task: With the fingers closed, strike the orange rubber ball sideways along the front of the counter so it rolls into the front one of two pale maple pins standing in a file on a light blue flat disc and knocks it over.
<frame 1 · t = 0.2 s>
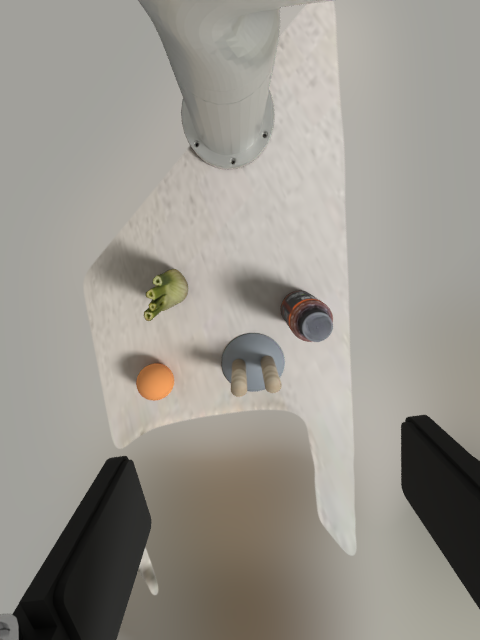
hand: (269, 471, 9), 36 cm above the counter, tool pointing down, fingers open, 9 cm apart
ball: (155, 381, 46), on the counter
supplement bottle: (297, 307, 46), on the counter
fennel bulb: (175, 286, 44), on the counter
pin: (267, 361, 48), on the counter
light blue flat disc: (253, 362, 48), on the counter
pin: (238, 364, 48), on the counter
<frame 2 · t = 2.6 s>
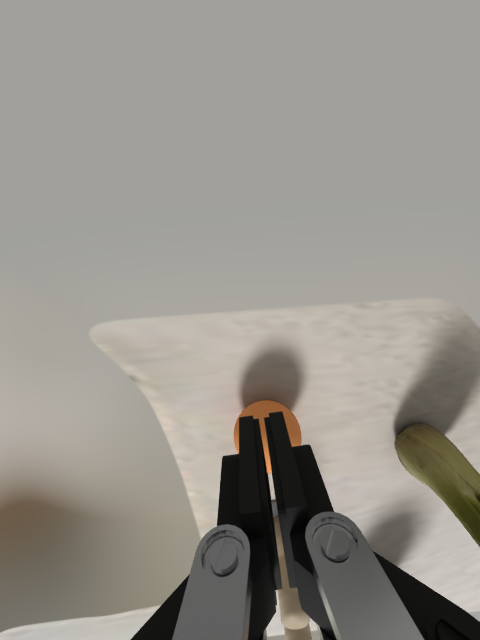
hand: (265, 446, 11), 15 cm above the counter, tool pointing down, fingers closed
ball: (267, 435, 25), on the counter
fennel bulb: (412, 438, 28), on the counter
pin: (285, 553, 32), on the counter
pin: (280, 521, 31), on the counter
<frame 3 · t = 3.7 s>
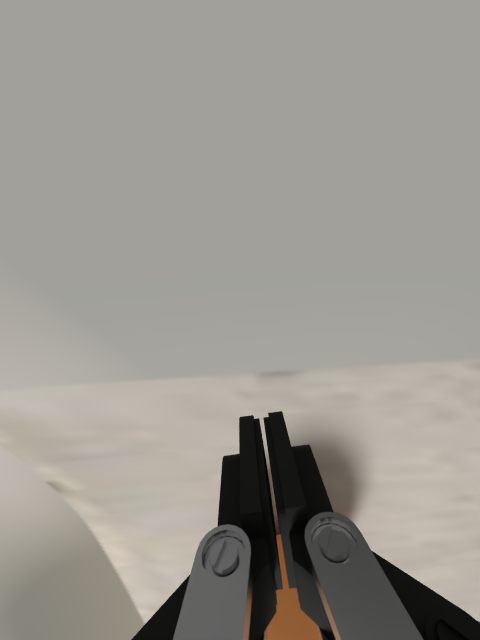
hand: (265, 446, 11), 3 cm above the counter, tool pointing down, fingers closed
ball: (299, 614, 13), on the counter
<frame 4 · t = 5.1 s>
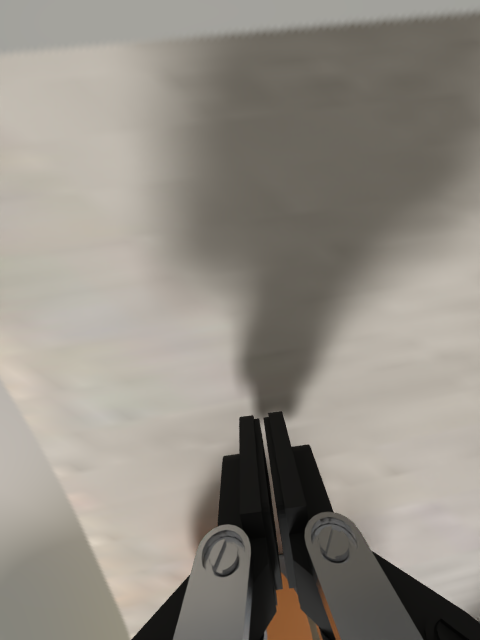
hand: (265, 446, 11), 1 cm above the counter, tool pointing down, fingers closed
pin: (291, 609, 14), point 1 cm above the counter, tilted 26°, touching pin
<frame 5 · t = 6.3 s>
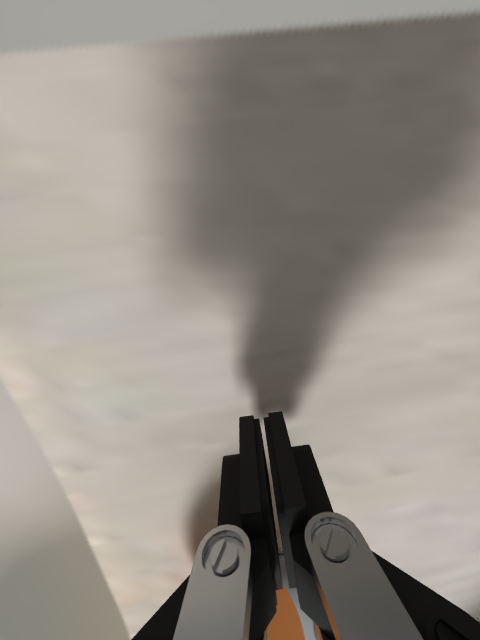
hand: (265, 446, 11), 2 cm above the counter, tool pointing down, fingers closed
light blue flat disc: (294, 624, 16), on the counter
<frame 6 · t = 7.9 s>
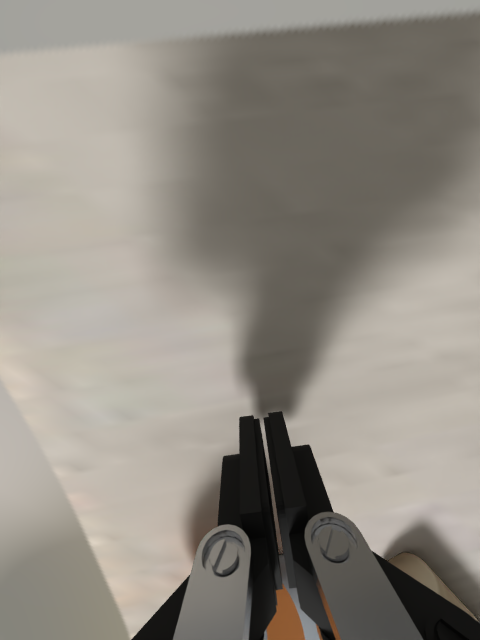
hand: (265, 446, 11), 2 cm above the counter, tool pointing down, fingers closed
light blue flat disc: (294, 624, 16), on the counter
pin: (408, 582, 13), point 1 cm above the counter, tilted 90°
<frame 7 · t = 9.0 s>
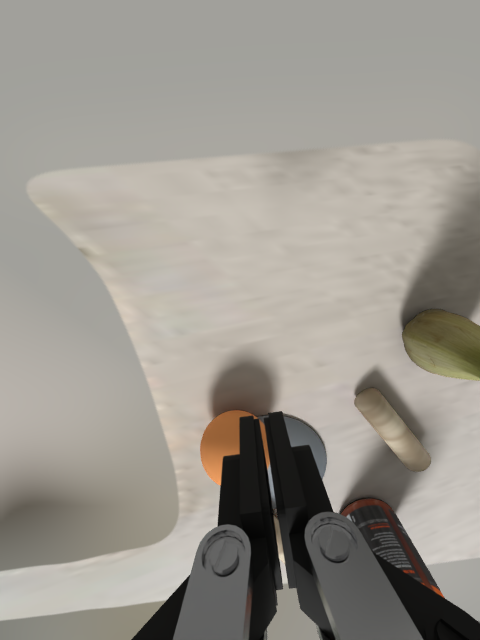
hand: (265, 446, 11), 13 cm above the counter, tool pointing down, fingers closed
ball: (236, 447, 23), on the counter
supplement bottle: (363, 515, 29), on the counter
fennel bulb: (422, 334, 24), on the counter
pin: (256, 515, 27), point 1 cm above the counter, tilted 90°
light blue flat disc: (270, 463, 27), on the counter
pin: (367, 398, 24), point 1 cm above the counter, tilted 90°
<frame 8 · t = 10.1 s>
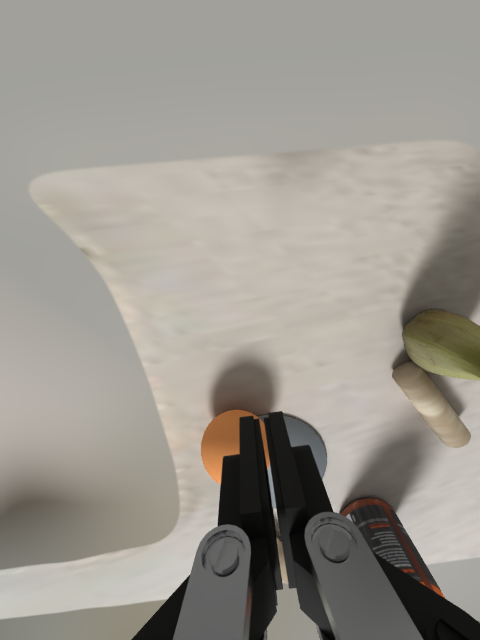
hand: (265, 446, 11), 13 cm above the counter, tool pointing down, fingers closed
ball: (236, 447, 23), on the counter
supplement bottle: (364, 514, 29), on the counter
fennel bulb: (422, 334, 24), on the counter
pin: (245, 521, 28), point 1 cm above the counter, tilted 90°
light blue flat disc: (270, 462, 27), on the counter
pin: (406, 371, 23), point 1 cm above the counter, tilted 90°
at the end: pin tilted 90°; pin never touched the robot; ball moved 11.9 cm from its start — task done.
